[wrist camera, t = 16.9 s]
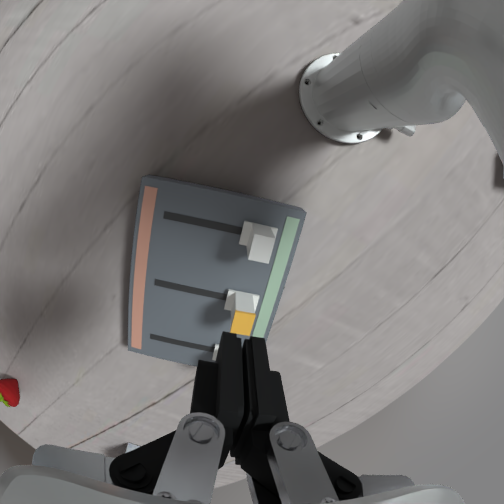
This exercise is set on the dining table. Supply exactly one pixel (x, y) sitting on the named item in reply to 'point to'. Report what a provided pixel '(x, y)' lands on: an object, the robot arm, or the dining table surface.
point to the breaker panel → (201, 266)
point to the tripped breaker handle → (241, 311)
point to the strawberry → (9, 392)
